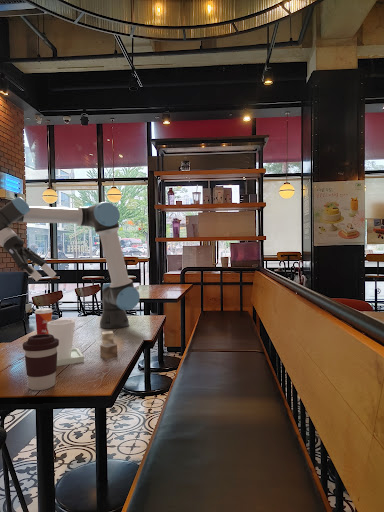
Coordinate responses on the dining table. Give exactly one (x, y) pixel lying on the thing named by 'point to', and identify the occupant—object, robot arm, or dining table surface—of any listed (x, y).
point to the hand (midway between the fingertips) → (47, 277)
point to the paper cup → (43, 319)
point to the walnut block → (108, 351)
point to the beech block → (107, 337)
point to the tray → (72, 358)
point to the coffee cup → (41, 361)
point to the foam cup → (62, 336)
